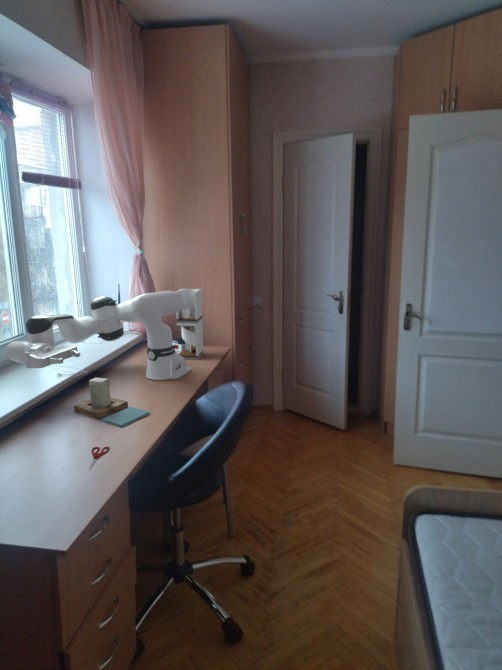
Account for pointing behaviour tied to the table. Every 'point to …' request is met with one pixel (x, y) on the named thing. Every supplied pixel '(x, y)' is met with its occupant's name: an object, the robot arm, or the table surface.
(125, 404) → the pocket holder
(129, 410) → the teal mat
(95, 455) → the scissors
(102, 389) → the skincare box
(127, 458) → the table surface
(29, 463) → the table surface
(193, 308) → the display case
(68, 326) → the robot arm
